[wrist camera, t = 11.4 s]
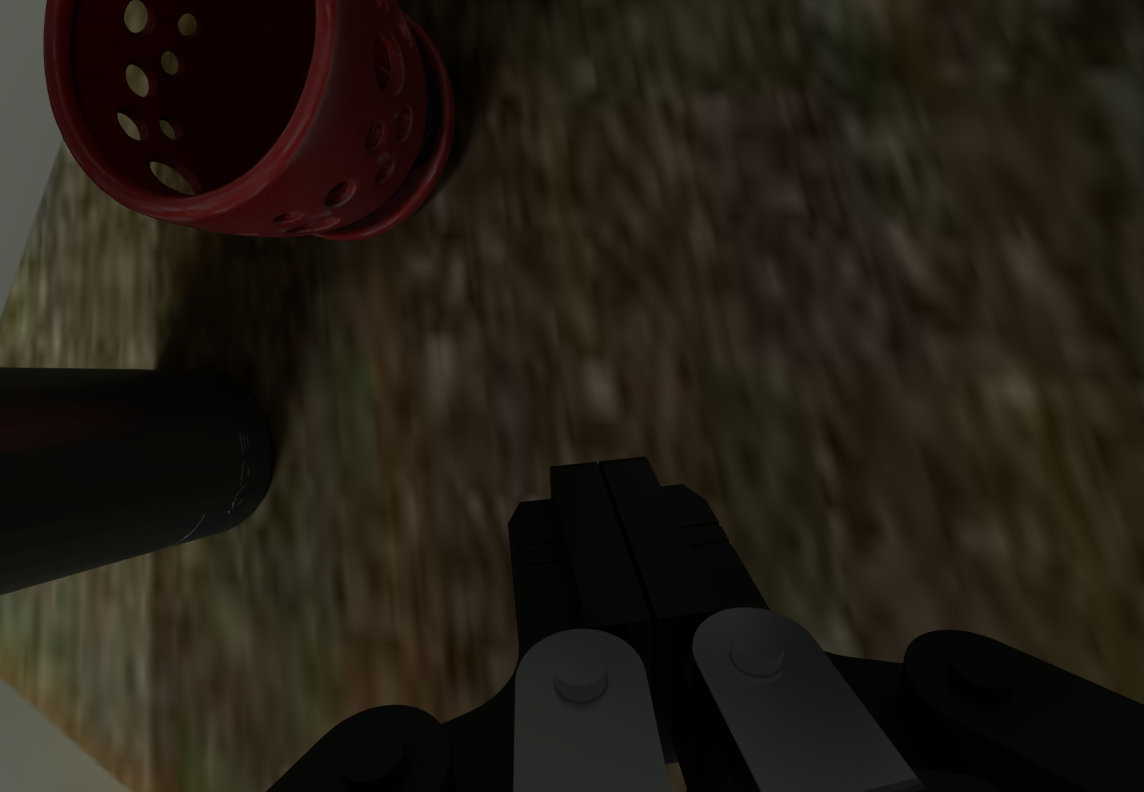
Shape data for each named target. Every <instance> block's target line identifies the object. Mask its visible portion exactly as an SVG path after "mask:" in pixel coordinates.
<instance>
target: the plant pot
mask: <svg viewBox="0 0 1144 792" xmlns="http://www.w3.org/2000/svg"><path fill="white" fill-rule="evenodd" d="M131 1H132V0H47V3H46V11H45V22H44V67H45V77H46V84H47V90H48V95H49V100H50V104H51V108H52V111H53V114H54V117H55V120H56V123H57V125H58V127H59V129H60V132H61V134H62V137H63V139H64V141H65V143H66V145H67V147H68V148H69V150H70V152H71V154H72V155H73V157H74V158H75V160H76V161H77V163H78V164H79V166H80V167H81V168H82V169H83V171H84V172H85V173H86V175H87V176H88V177H89V178H90V179H91V180H92V181H93V182H94V183H95V184H96V185H97V186H98V187H99V188H100V189H101V190H102V191H104V192H105V193H106V194H107V195H109V196H110V197H111V198H113V199H114V200H115V201H116V202H118V203H120V204H122V205H123V206H125V207H127V208H129V209H131V210H133V211H136V212H138V213H141V214H143V215H146V216H149V217H152V218H155V219H158V220H161V221H165V222H169V223H173V224H177V225H181V226H186V227H190V228H195V229H200V230H205V231H210V232H216V233H223V234H231V235H240V236H251V237H297V236H307V235H313V236H316V237H319V238H323V239H327V240H334V241H356V240H362V239H367V238H371V237H374V236H377V235H379V234H382V233H384V232H387V231H389V230H391V229H392V228H394V227H396V226H398V225H399V224H401V223H402V222H404V221H405V220H406V219H408V218H409V217H410V216H411V215H412V214H413V213H415V212H416V211H417V210H418V209H419V208H420V206H421V205H422V204H423V203H424V202H425V201H426V199H427V198H428V197H429V195H430V194H431V192H432V191H433V189H434V188H435V186H436V184H437V182H438V180H439V179H440V177H441V175H442V173H443V171H444V169H445V166H446V163H447V160H448V157H449V154H450V150H451V146H452V141H453V135H454V125H455V105H454V96H453V90H452V86H451V81H450V77H449V74H448V71H447V68H446V66H445V64H444V61H443V59H442V57H441V55H440V53H439V51H438V49H437V47H436V46H435V44H434V43H433V41H432V40H431V38H430V37H429V36H428V34H427V33H426V32H425V31H424V29H423V28H422V27H421V26H420V25H419V24H418V23H417V22H416V21H415V20H413V19H412V18H411V17H410V16H408V15H407V14H406V13H404V12H403V11H402V9H401V7H400V5H399V3H398V2H397V0H140V1H141V2H142V3H143V4H144V5H145V7H146V9H147V12H148V21H147V24H146V26H145V28H144V29H143V30H142V31H140V32H138V33H133V32H131V31H130V30H129V29H128V28H127V26H126V25H125V22H124V13H125V10H126V8H127V6H128V4H129V2H131ZM187 13H190V14H192V15H193V16H194V17H195V19H196V21H197V27H196V29H195V31H194V33H192V34H191V35H188V36H184V35H182V34H181V33H180V32H179V30H178V26H177V25H178V21H179V19H180V18H181V17H182V16H183V15H184V14H187ZM165 51H171V52H173V53H174V54H175V56H176V57H177V60H178V70H177V72H176V73H175V74H173V75H170V74H168V73H166V72H165V71H164V69H163V68H162V66H161V57H162V54H163V53H164V52H165ZM130 64H133V65H135V66H138V67H139V68H140V69H141V70H142V71H143V72H144V74H145V75H146V76H147V79H148V84H149V90H148V94H147V95H146V97H141V96H138V95H137V94H136V93H134V92H133V91H132V90H131V89H130V87H129V85H128V83H127V80H126V68H127V67H128V66H129V65H130ZM118 113H122V114H124V115H126V116H128V117H129V118H130V119H131V120H132V121H133V122H134V123H135V125H136V126H137V128H138V131H139V133H140V141H139V140H136V139H133V138H131V137H129V136H128V135H127V134H126V133H125V131H124V130H123V128H122V127H121V125H120V123H119V121H118V117H117V114H118ZM159 120H165V121H166V122H168V123H169V124H170V126H171V127H172V128H173V130H174V132H175V140H173V139H171V138H169V137H168V136H166V135H165V134H164V133H163V132H162V130H161V128H160V124H159ZM150 162H159V163H162V164H165V165H167V166H168V167H170V168H172V169H173V170H175V171H176V172H177V173H179V174H180V175H181V176H182V177H183V178H184V179H185V180H186V181H187V182H188V183H189V184H190V186H191V187H192V189H193V191H194V194H195V195H187V194H183V193H180V192H178V191H176V190H174V189H171V188H169V187H167V186H166V185H165V184H163V183H162V182H161V181H160V180H158V178H157V177H156V176H155V175H154V174H153V172H152V170H151V168H150Z"/></svg>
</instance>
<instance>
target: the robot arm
mask: <svg viewBox="0 0 1144 792" xmlns="http://www.w3.org/2000/svg"><path fill="white" fill-rule="evenodd" d="M271 462H272V448H271V440H270V434H269V431H268V427H267V424H266V421H265V418H264V416H263V414H262V412H261V410H260V408H259V407H258V405H257V403H256V402H255V400H254V399H253V398H252V397H251V395H250V394H249V393H248V392H247V390H245V389H244V388H243V387H242V386H241V385H239V384H238V383H237V382H236V381H234V380H233V379H231V378H229V377H226V376H224V375H222V374H220V373H216V372H211V371H205V370H147V369H86V368H15V367H0V595H3V594H7V593H10V592H14V591H17V590H21V589H24V588H28V587H31V586H35V585H38V584H42V583H45V582H49V581H52V580H56V579H59V578H63V577H66V576H70V575H73V574H77V573H80V572H84V571H87V570H91V569H94V568H98V567H101V566H105V565H108V564H112V563H115V562H119V561H122V560H126V559H129V558H133V557H136V556H140V555H143V554H147V553H150V552H154V551H157V550H161V549H165V548H169V547H172V546H176V545H179V544H183V543H186V542H190V541H193V540H197V539H200V538H204V537H207V536H211V535H214V534H218V533H221V532H225V531H227V530H229V529H231V528H233V527H235V526H237V525H239V524H240V523H241V522H243V521H244V520H245V519H246V518H247V517H249V516H250V515H251V513H252V512H253V511H254V509H255V508H256V507H257V505H258V504H259V503H260V501H261V499H262V497H263V495H264V492H265V490H266V488H267V485H268V481H269V477H270V473H271ZM550 486H551V499H545V500H536V501H527V502H520V503H519V505H518V507H517V509H516V510H515V512H514V514H513V516H512V517H511V519H510V521H509V523H508V529H509V540H510V551H511V562H512V574H513V585H514V596H515V607H516V619H517V630H518V641H519V658H518V662H517V666H516V668H515V671H514V673H513V675H512V676H511V678H510V680H509V681H508V683H507V684H506V685H505V686H504V687H503V689H502V690H501V691H500V692H499V693H498V694H496V695H495V696H494V697H493V698H492V699H491V700H489V701H488V702H486V703H485V704H483V705H482V706H480V707H478V708H476V709H474V710H472V711H470V712H468V713H466V714H464V715H461V716H459V717H457V718H454V719H452V720H450V721H448V722H445V723H443V724H440V723H439V722H438V721H437V720H436V719H435V718H434V717H433V716H432V715H430V714H428V713H427V712H425V711H423V710H420V709H418V708H415V707H410V706H406V705H387V706H379V707H375V708H371V709H368V710H365V711H362V712H359V713H357V714H355V715H353V716H351V717H349V718H347V719H345V720H344V721H342V722H341V723H339V724H338V725H336V726H335V727H334V728H332V729H331V730H330V731H329V732H328V733H327V734H325V735H324V736H323V737H322V738H321V739H320V740H319V741H318V742H317V743H316V744H315V745H314V746H313V747H312V748H311V749H310V750H309V751H308V752H307V753H306V754H305V755H304V756H302V757H301V758H300V759H299V760H298V761H297V762H296V763H295V764H294V765H293V766H292V767H291V768H290V769H289V770H288V771H287V772H286V773H285V774H284V775H283V776H282V777H281V778H280V779H279V780H278V781H277V782H276V783H275V784H274V785H273V786H272V787H270V788H269V789H268V790H267V791H266V792H671V791H670V786H669V782H668V777H667V772H666V767H665V764H670V763H676V762H679V765H680V768H681V771H682V774H683V778H684V781H685V784H686V787H687V792H1144V705H1143V704H1141V703H1139V702H1136V701H1134V700H1132V699H1129V698H1127V697H1125V696H1122V695H1120V694H1118V693H1116V692H1113V691H1111V690H1109V689H1106V688H1104V687H1102V686H1100V685H1097V684H1095V683H1093V682H1090V681H1088V680H1086V679H1084V678H1081V677H1079V676H1077V675H1074V674H1072V673H1070V672H1068V671H1065V670H1063V669H1061V668H1058V667H1056V666H1054V665H1052V664H1049V663H1047V662H1045V661H1042V660H1040V659H1038V658H1036V657H1033V656H1031V655H1029V654H1026V653H1024V652H1022V651H1020V650H1017V649H1015V648H1013V647H1010V646H1008V645H1006V644H1004V643H1001V642H999V641H996V640H994V639H991V638H989V637H986V636H982V635H979V634H975V633H971V632H966V631H958V630H938V631H932V632H928V633H925V634H923V635H920V636H919V637H917V638H916V639H914V640H913V641H912V642H911V643H910V644H909V646H908V648H907V650H906V652H905V657H904V662H903V663H894V662H886V661H878V660H870V659H862V658H853V657H847V656H841V655H836V654H833V653H829V652H825V651H823V650H822V648H821V647H820V646H819V644H818V643H817V642H816V640H815V639H814V638H813V637H812V636H811V635H810V633H809V632H808V631H806V630H805V629H804V628H803V627H802V626H801V625H799V624H798V623H796V622H794V621H793V620H791V619H789V618H787V617H785V616H783V615H781V614H778V613H775V612H772V611H770V609H769V607H768V606H767V604H766V602H765V601H764V599H763V597H762V595H761V594H760V592H759V590H758V589H757V587H756V585H755V583H754V582H753V580H752V578H751V577H750V575H749V573H748V571H747V570H746V568H745V566H744V565H743V563H742V561H741V559H740V558H739V556H738V554H737V553H736V551H735V549H734V547H733V546H732V544H731V545H730V544H729V539H728V537H727V535H726V534H725V532H724V530H723V529H722V527H721V526H719V522H718V520H717V518H716V517H715V515H714V513H713V511H712V510H711V508H710V506H709V505H708V503H707V501H706V500H704V499H703V498H702V497H700V496H699V495H697V494H696V493H695V492H693V491H692V490H690V489H689V488H687V487H686V486H685V485H683V484H679V485H670V486H660V484H659V482H658V480H657V478H656V476H655V474H654V472H653V469H652V467H651V465H650V463H649V461H648V459H647V458H646V457H636V458H627V459H617V460H608V461H600V462H599V464H597V462H590V463H581V464H571V465H562V466H552V467H550Z"/></svg>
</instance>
